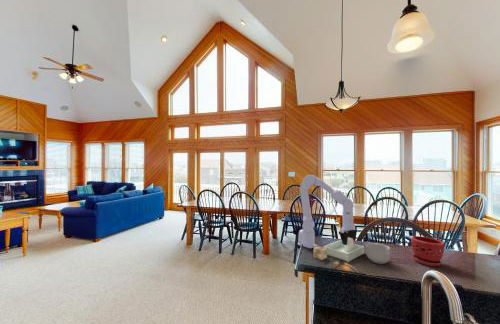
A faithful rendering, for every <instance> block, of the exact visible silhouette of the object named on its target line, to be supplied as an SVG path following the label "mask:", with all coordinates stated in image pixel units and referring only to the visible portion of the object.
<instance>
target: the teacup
mask: <svg viewBox="0 0 500 324" xmlns="http://www.w3.org/2000/svg"><path fill="white" fill-rule="evenodd" d="M365 248H366V256H367V258H368V259H369V260H370V261H371V262H372V263H374V264H378V265H379V264H380V265H384V264H387V263H388V262H389V261H390V259H391V250H390V249H391V247H390V246H388V245H386V244H383V243H382V244H381V243H378V242H374V243H367V244H365Z"/></svg>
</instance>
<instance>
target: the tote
mask: <svg viewBox="0 0 500 324" xmlns="http://www.w3.org/2000/svg"><path fill="white" fill-rule="evenodd" d="M322 247H323V248H327V256H329V257H333V258H335V259H339V260H342V261H345V262H347V263H349V262H351V261H352V260H354V259H356V258H358V257H360V256H362V255H364V254H365V245H360V244H356V243H353V251H351V252H345V251H344V245H343V243H342V239H340V240H336V241H334V242H331V243H328V244H326V245H323V246H322Z"/></svg>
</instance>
